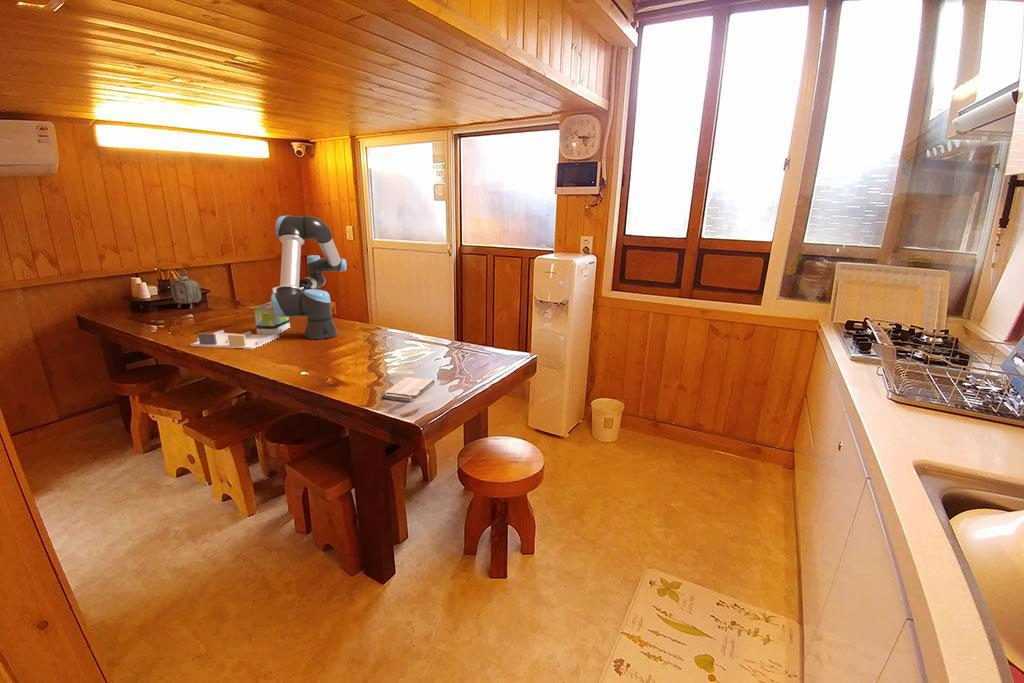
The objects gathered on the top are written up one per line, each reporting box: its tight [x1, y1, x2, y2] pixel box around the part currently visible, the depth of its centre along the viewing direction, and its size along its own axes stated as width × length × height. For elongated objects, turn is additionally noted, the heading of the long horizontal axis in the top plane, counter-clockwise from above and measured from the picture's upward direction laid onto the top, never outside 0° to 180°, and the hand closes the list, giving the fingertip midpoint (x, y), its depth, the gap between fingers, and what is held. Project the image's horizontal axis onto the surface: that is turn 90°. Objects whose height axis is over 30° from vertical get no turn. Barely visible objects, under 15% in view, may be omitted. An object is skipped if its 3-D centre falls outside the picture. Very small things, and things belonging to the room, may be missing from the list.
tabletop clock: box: [169, 268, 202, 310], centre depth 282 cm, size 14×9×25 cm, turn 72°
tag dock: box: [190, 329, 280, 350], centre depth 214 cm, size 31×20×6 cm, turn 83°
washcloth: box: [383, 376, 436, 403], centre depth 159 cm, size 12×18×3 cm, turn 166°
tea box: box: [253, 301, 291, 335], centre depth 231 cm, size 15×10×15 cm
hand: (284, 291), depth 241 cm, fingers open, 13 cm apart
